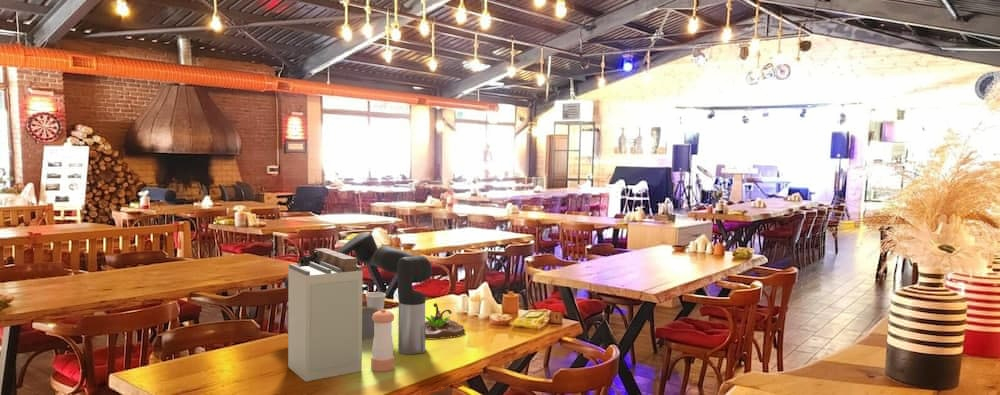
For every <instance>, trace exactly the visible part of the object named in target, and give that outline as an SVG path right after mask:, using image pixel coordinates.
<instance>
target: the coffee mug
mask: <svg viewBox="0 0 1000 395" xmlns="http://www.w3.org/2000/svg"><path fill="white" fill-rule="evenodd" d="M377 311H378V309H377V308H375V307H367V306H362V340H370V339H374V323H375V322H373V320H372V316H373V314H374V313H375V312H377Z"/></svg>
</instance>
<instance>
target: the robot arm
mask: <svg viewBox="0 0 1000 395" xmlns="http://www.w3.org/2000/svg"><path fill="white" fill-rule="evenodd" d="M313 251H314V250H313ZM333 251H336V252H339V253H342V254H345V255H348V256H349V254H350V253H352V252H353V253H354V256H355V258H357V260H358V262H360V263H362V264H364V265H365V264H366V265H370V266H374V267H376V268H379V269H381V270H383V271H384V272H389V273H393V274H396V275H397V276H396V277H397V278H396V280H397V294H398V295H397V296H398V329H397V330H398V335H397V336H398V339H397V341H398V343H397V347H398V348H397V351H398V352H399V353H400V354H404V355H417V354H424V353H425V350H426V340H427V339H426V322H425V321H426V318H425V317H426V294H425V293H424V292H421V291H418V290H414V288H413V284H415V283H424V282H426V281H427V280H429V279H430V278H431V275H432V271H433V267H432V264H431V262H430V260H429V259H428V258H427V257H425V256H424V255H417V254H412V253H409V252H406V251H403V250H402V249H398V248H396V247H393V246H392V245H382V246H379V247H378V246H377V243H376V240H375V238H374V236H373V234H372V233H370V232H362V233H359V234H358V235H357V234H356V235H355V236H354V237H352V238H351V239H350V240H349V241H347V242H346V243H345V244H343V245H342V246H341V247H339V249H334V250H333ZM317 258H318V254H317V251H314V252H312V253H311V254H309V255H308V256H307V255H306V256H305V255H304V256H302V257H301V258H300V259H299V260H298V261H297V264H296V265H297V266H299V267H304V266H310V262H314V263H316V264H319V265H320V263H319V262H317V261H315V260H316V259H317ZM284 288H285V289H286V290H287V291H288V277H286V279H285V280H284Z"/></svg>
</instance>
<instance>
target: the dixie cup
mask: <svg viewBox="0 0 1000 395" xmlns="http://www.w3.org/2000/svg"><path fill="white" fill-rule="evenodd" d="M386 296H387V295H386V293H385V292H378V291H375V292H368V293H366V294H365V298H366V307H375V308H377V309H378V311H381V309H385V308H384V306H385V300H386Z"/></svg>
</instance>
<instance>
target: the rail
mask: <svg viewBox="0 0 1000 395" xmlns="http://www.w3.org/2000/svg"><path fill="white" fill-rule="evenodd" d="M313 251H317V254H318V258H317V259H316V260H315V261H317V262H319V263H320V262H321V261H323V262H326V263H329V264H331V265H334V266H336V267H339V268H342V272H352V271H356V269H357V265H358V264H357V258H356V257H353V256H351V255H349V254H348V255H345V254H342V253H339V252H336V251H334V250H333V249H330V248H325V247H324V248H314V249H313Z"/></svg>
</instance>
